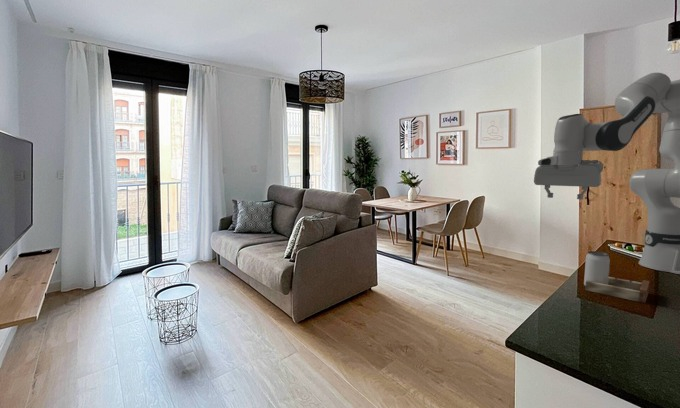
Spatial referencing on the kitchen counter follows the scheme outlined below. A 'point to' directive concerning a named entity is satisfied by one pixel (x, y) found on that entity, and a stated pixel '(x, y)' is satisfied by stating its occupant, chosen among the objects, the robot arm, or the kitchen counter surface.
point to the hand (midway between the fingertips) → (564, 198)
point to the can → (597, 267)
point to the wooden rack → (621, 289)
